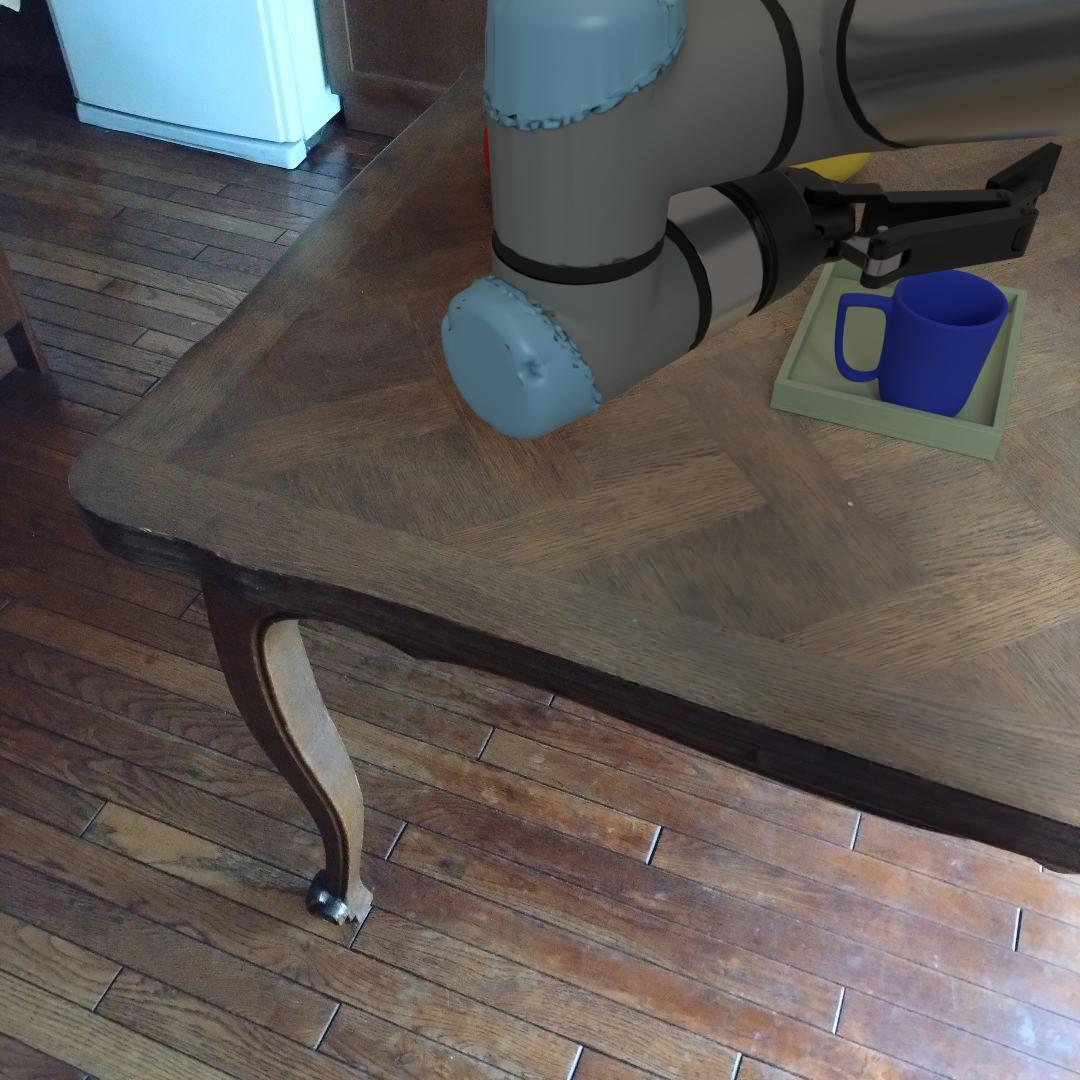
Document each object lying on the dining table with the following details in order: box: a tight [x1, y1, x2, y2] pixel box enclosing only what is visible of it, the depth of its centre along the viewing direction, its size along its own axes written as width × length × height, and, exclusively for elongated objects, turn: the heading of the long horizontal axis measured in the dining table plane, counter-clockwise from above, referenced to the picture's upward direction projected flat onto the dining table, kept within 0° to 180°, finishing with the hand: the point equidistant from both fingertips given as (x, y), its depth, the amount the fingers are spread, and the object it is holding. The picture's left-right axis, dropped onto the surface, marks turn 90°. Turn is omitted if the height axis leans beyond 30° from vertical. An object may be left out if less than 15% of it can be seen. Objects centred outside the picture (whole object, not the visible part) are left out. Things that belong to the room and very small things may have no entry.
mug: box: [834, 269, 1008, 418], centre depth 83 cm, size 8×12×10 cm
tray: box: [769, 259, 1029, 462], centre depth 90 cm, size 22×18×3 cm
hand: (945, 128), depth 64 cm, fingers open, 13 cm apart
